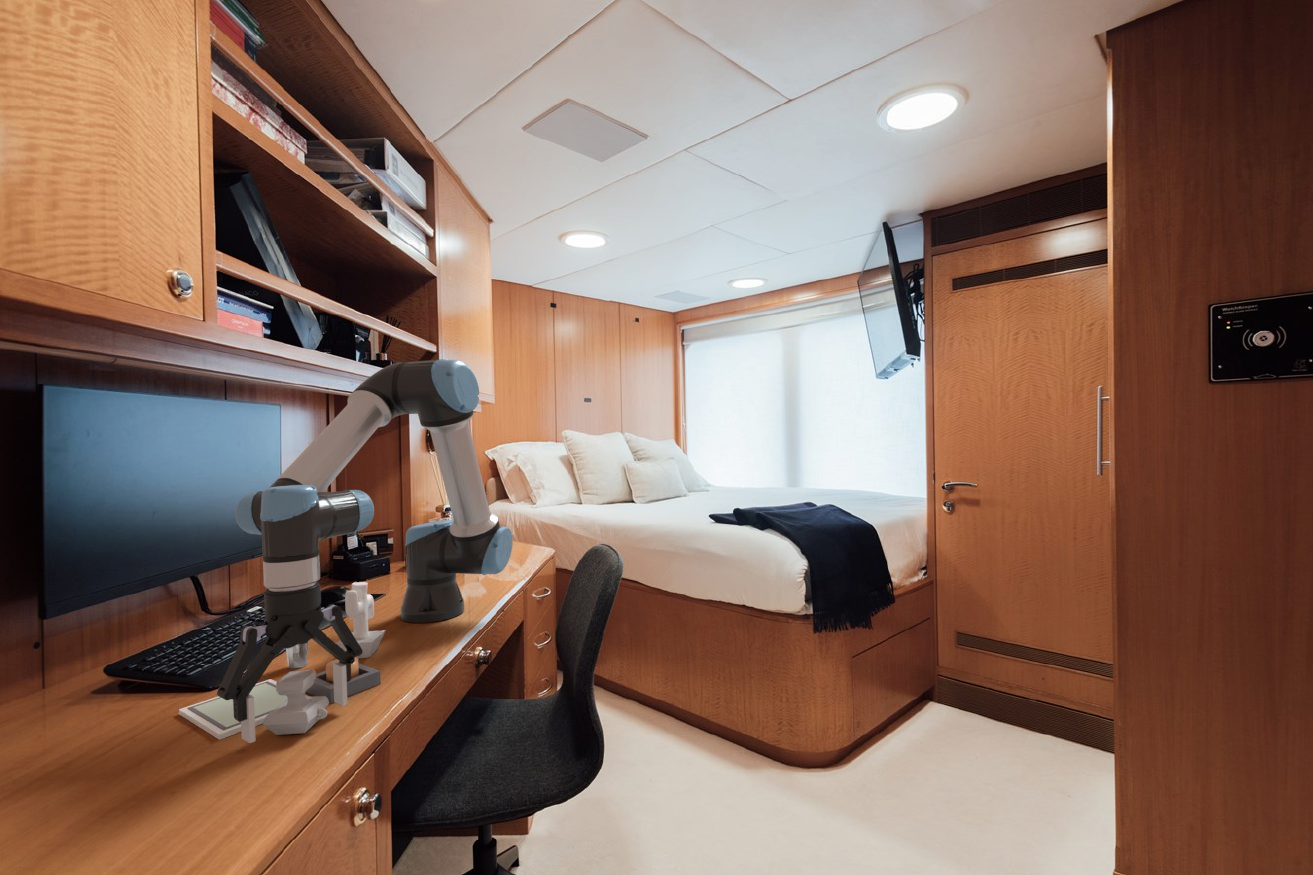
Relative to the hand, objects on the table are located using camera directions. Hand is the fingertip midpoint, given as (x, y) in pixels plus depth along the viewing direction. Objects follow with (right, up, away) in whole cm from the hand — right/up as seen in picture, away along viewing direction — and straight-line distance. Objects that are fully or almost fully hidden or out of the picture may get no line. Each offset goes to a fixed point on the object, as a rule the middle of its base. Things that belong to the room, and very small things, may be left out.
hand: (297, 720), depth 94 cm
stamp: (0, -2, 0) cm, 2 cm away
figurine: (-5, -1, +31) cm, 32 cm away
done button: (-1, +1, +15) cm, 15 cm away
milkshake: (-15, -2, +26) cm, 30 cm away
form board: (-13, -2, +8) cm, 15 cm away
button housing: (-1, -1, +15) cm, 15 cm away
